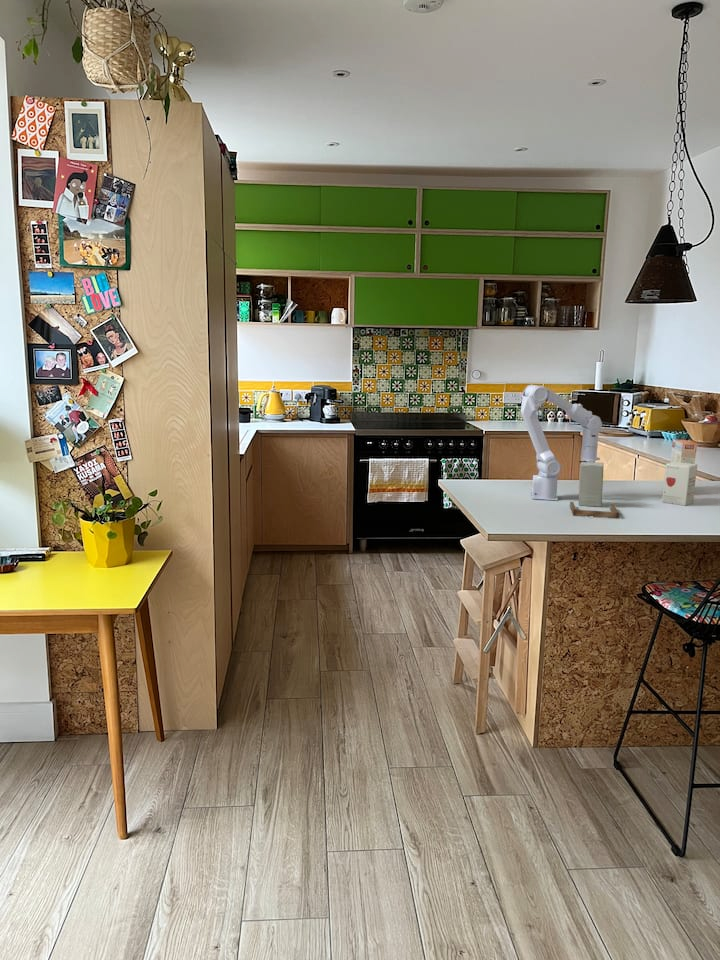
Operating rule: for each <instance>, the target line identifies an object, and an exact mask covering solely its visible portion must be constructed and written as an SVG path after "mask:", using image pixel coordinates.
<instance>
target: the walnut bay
mask: <svg viewBox="0 0 720 960" xmlns="http://www.w3.org/2000/svg"><path fill="white" fill-rule="evenodd" d="M569 509H570V511H571V514H572V516H573V517H586V516H593V517H592V518H602V517H608V518H607V519H618V518H620V512H619V510H618V509H617V508H616V506H615V505H614V504H612V503H610V505H609V510H610V511H606V510H604V511H603V510H589V509H577V507H576V505H575V504H574V502H573V501H570V502H569Z"/></svg>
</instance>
